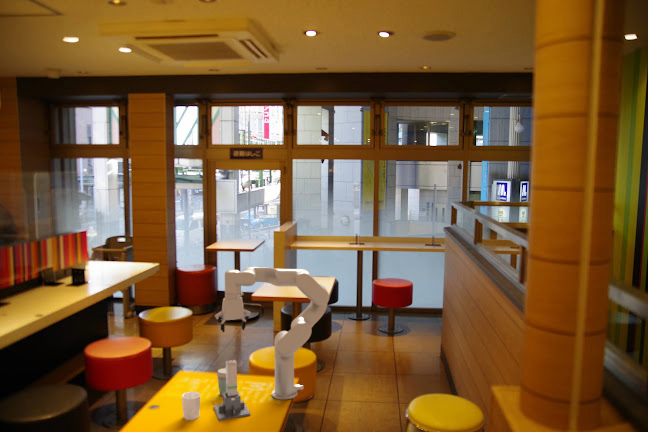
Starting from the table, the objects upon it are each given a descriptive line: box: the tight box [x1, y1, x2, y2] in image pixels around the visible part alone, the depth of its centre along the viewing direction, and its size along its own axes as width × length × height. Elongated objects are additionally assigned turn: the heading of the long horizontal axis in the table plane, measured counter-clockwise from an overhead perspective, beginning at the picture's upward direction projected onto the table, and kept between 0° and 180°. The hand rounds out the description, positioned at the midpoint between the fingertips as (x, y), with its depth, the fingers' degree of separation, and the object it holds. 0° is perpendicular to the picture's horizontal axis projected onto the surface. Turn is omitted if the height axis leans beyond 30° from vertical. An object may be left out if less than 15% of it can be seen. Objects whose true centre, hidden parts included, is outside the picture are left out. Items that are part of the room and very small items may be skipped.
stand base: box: [213, 390, 251, 421], centre depth 237 cm, size 14×14×8 cm
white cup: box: [181, 391, 201, 421], centre depth 232 cm, size 8×8×10 cm
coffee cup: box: [216, 367, 226, 397], centre depth 256 cm, size 8×8×12 cm
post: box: [224, 359, 238, 398], centre depth 236 cm, size 5×5×16 cm
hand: (233, 330), depth 250 cm, fingers open, 9 cm apart
